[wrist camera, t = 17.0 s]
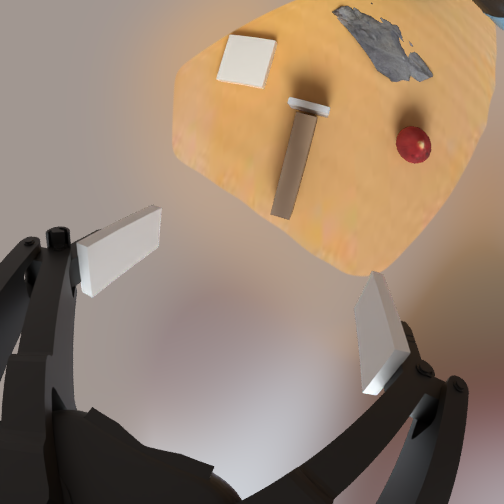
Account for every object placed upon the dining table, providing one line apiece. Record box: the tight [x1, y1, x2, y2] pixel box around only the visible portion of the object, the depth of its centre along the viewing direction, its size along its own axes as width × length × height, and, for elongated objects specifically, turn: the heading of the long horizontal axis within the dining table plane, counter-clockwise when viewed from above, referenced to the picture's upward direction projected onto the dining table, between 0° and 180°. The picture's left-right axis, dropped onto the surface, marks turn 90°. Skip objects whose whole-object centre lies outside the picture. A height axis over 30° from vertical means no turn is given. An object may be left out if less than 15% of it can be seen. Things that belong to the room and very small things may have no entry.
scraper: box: [271, 97, 330, 220], centre depth 40 cm, size 6×18×6 cm, turn 168°
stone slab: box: [332, 3, 433, 82], centre depth 30 cm, size 18×2×10 cm
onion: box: [396, 126, 431, 164], centre depth 33 cm, size 6×6×8 cm
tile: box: [217, 35, 277, 89], centre depth 37 cm, size 8×2×9 cm
